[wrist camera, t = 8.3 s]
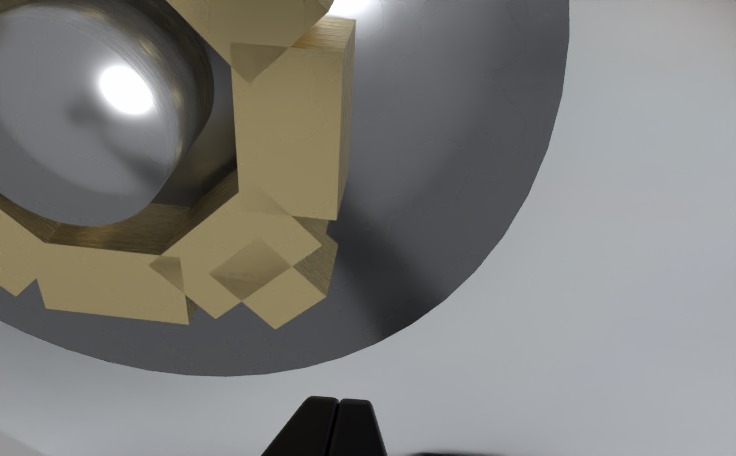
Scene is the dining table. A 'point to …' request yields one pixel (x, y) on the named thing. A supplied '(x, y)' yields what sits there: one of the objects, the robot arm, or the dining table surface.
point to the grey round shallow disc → (219, 159)
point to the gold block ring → (222, 188)
